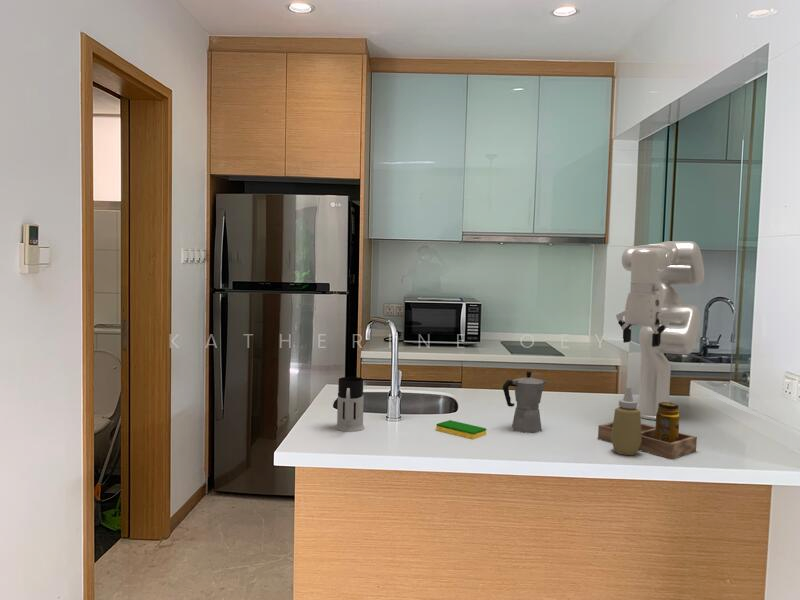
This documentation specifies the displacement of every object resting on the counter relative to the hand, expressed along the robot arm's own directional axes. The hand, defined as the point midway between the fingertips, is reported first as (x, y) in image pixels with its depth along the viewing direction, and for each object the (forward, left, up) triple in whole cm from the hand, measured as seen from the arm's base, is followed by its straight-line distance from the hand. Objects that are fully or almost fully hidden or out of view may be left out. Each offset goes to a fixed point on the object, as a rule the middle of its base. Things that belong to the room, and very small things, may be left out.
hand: (641, 344), depth 201 cm
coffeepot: (+30, -20, -27) cm, 45 cm away
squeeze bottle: (+24, +12, -27) cm, 38 cm away
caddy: (+13, +11, -27) cm, 32 cm away
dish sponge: (+49, -28, -28) cm, 63 cm away
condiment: (+13, +16, -26) cm, 33 cm away
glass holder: (+76, -48, -27) cm, 94 cm away
